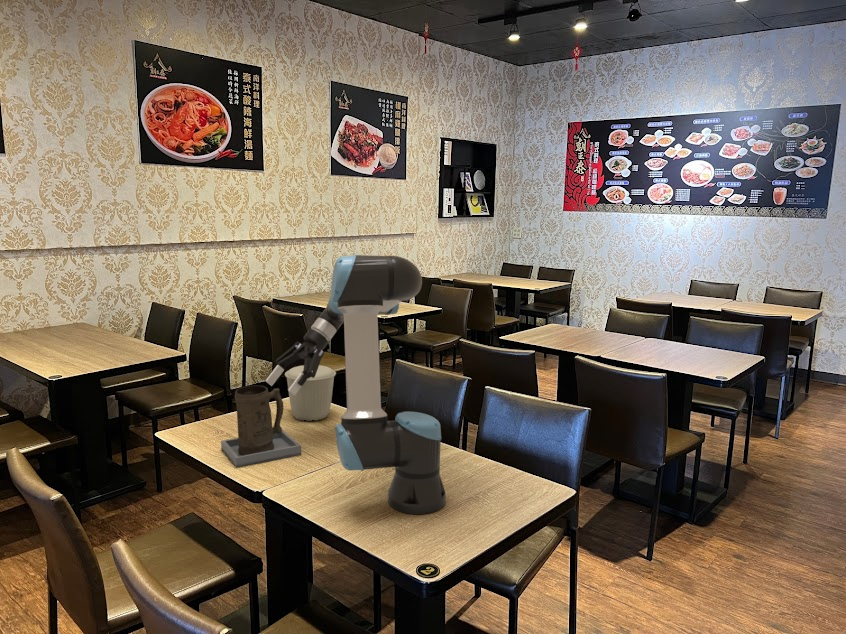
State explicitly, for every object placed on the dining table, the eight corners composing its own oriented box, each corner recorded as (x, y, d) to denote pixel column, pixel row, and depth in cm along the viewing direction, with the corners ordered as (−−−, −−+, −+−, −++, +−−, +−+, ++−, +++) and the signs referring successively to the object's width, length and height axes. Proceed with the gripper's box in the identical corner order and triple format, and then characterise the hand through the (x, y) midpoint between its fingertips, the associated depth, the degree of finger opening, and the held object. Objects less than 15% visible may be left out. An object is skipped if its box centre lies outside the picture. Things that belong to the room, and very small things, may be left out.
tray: (301, 454, 193) (301, 445, 193) (236, 468, 183) (236, 458, 182) (282, 438, 207) (282, 429, 206) (221, 449, 196) (221, 440, 195)
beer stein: (250, 461, 185) (249, 396, 182) (229, 452, 192) (227, 389, 189) (291, 447, 197) (290, 385, 194) (269, 438, 204) (268, 379, 201)
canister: (346, 414, 231) (346, 359, 228) (312, 428, 216) (312, 369, 213) (309, 405, 241) (308, 352, 237) (274, 418, 226) (273, 361, 222)
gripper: (349, 348, 197) (309, 403, 190) (305, 336, 215) (267, 386, 207) (335, 334, 193) (293, 390, 185) (291, 322, 211) (252, 373, 203)
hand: (279, 388), depth 196 cm, fingers open, 13 cm apart
